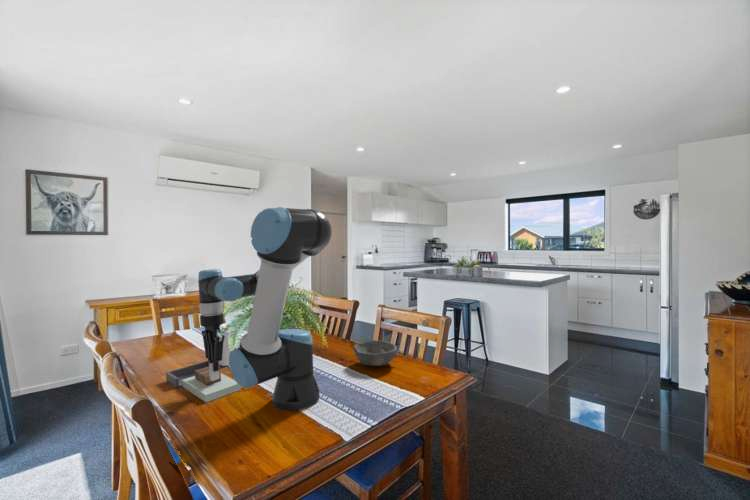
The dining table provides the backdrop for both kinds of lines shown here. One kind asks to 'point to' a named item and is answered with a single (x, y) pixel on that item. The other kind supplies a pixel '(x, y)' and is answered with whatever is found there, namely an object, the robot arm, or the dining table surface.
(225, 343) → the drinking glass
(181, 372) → the tray
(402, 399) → the dining table surface
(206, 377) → the tile
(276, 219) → the robot arm
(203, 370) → the tile
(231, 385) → the board
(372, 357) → the bowl
